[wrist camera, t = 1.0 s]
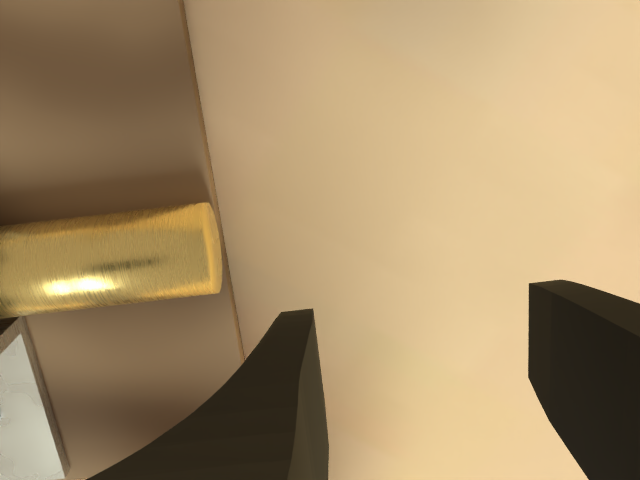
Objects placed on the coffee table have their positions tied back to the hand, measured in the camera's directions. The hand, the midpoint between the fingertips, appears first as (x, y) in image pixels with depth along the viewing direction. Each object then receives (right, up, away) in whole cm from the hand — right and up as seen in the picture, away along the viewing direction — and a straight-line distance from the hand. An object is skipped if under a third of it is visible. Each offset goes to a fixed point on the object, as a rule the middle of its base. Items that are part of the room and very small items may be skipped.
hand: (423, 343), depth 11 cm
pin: (-10, +2, +8) cm, 13 cm away
